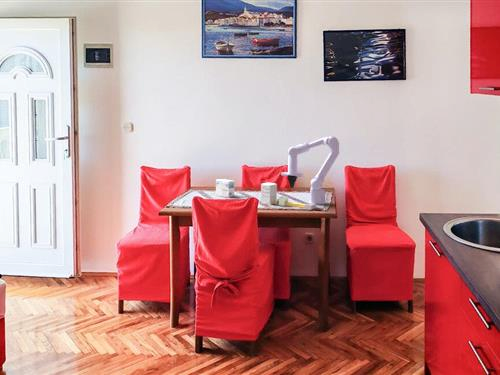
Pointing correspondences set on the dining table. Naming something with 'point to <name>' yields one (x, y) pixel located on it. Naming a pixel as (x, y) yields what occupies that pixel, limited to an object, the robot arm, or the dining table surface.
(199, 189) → the dining table surface
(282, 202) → the sleeve
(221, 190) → the light bulb box
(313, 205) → the comb
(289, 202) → the pale yellow rod
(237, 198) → the dining table surface
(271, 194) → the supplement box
